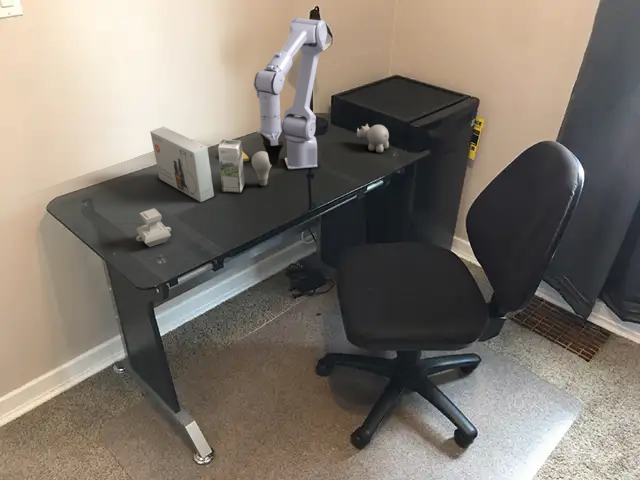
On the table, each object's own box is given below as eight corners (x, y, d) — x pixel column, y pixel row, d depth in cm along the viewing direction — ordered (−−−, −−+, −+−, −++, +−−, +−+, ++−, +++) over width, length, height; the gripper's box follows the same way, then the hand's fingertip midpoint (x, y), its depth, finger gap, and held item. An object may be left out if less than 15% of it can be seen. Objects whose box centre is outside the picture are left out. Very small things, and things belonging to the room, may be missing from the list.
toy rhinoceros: (362, 139, 200) (364, 116, 195) (391, 148, 194) (393, 124, 189) (351, 146, 195) (352, 122, 190) (380, 155, 189) (382, 131, 184)
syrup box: (245, 184, 170) (242, 139, 163) (240, 193, 166) (237, 147, 158) (226, 183, 171) (222, 138, 163) (221, 192, 166) (217, 146, 158)
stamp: (167, 230, 148) (162, 202, 144) (176, 242, 144) (172, 213, 139) (133, 240, 144) (127, 212, 139) (142, 253, 139) (136, 224, 135)
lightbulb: (257, 192, 166) (255, 158, 160) (250, 183, 171) (247, 150, 165) (276, 187, 169) (275, 154, 163) (268, 179, 173) (267, 146, 167)
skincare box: (157, 179, 172) (149, 130, 164) (172, 174, 176) (165, 125, 167) (199, 203, 160) (193, 151, 152) (214, 196, 164) (209, 145, 155)
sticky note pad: (241, 151, 190) (240, 149, 189) (249, 160, 184) (249, 157, 184) (219, 156, 187) (219, 153, 187) (227, 165, 181) (226, 162, 181)
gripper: (252, 106, 163) (255, 149, 171) (258, 124, 152) (261, 170, 159) (277, 104, 165) (278, 147, 172) (284, 123, 153) (286, 168, 160)
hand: (271, 158), depth 166 cm, fingers open, 7 cm apart
